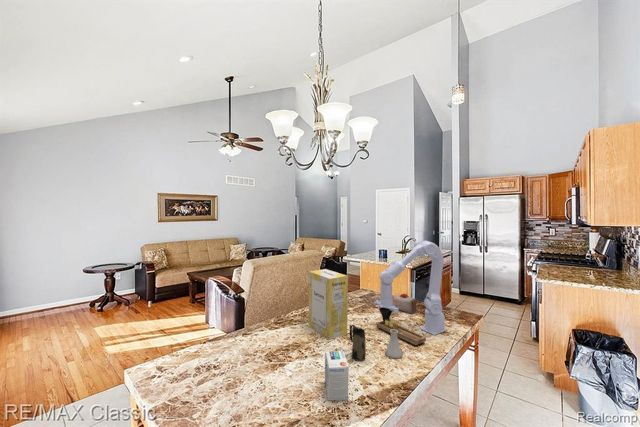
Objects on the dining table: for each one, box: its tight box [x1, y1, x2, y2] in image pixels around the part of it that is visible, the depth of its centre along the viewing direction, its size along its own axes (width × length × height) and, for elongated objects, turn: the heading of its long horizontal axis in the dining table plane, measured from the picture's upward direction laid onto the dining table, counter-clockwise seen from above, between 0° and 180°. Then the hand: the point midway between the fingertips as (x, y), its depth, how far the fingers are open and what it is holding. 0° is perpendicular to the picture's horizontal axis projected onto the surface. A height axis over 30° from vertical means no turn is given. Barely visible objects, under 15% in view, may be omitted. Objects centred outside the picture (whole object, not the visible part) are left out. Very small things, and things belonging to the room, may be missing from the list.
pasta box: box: [308, 268, 349, 340], centre depth 145 cm, size 18×10×28 cm, turn 34°
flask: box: [384, 329, 404, 359], centre depth 120 cm, size 7×7×10 cm
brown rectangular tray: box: [375, 320, 427, 346], centre depth 138 cm, size 8×24×3 cm, turn 33°
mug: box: [348, 324, 367, 362], centre depth 119 cm, size 8×6×12 cm
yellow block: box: [385, 317, 400, 329], centre depth 143 cm, size 4×5×4 cm
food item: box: [392, 293, 418, 315], centre depth 173 cm, size 14×8×10 cm, turn 44°
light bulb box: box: [324, 350, 350, 401], centre depth 97 cm, size 11×7×11 cm, turn 5°
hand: (385, 322), depth 146 cm, fingers closed
